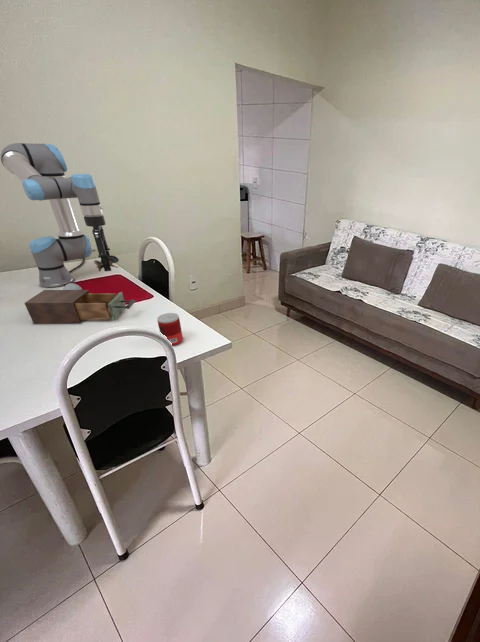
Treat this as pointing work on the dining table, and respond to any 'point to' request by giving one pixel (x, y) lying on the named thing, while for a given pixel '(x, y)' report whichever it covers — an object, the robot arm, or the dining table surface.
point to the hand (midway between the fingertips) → (108, 267)
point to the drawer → (102, 306)
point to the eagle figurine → (111, 260)
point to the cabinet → (55, 307)
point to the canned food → (170, 327)
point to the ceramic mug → (72, 287)
